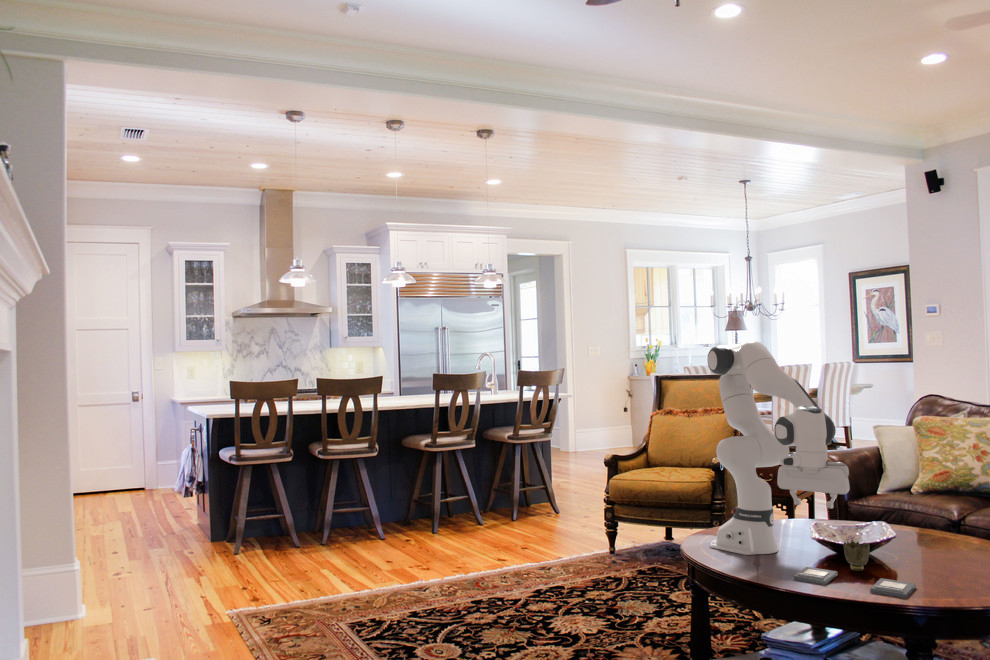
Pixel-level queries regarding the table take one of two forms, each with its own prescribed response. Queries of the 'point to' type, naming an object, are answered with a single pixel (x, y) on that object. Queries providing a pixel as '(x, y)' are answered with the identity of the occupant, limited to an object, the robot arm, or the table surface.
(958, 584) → the table surface
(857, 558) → the cup
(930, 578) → the table surface
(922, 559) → the table surface
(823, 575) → the plates
